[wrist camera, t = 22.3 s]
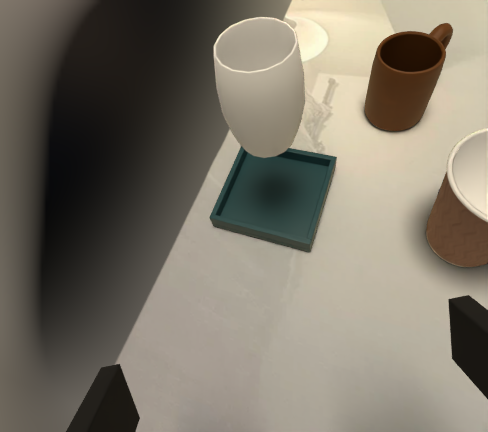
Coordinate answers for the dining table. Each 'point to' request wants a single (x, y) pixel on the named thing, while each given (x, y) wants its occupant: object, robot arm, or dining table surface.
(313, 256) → the dining table surface
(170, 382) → the dining table surface
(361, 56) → the dining table surface
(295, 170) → the cup tray
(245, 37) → the cup
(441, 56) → the mug
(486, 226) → the coffee cup
